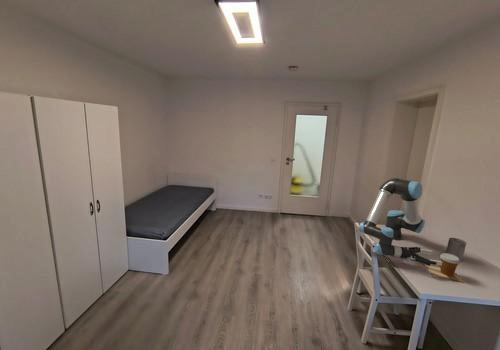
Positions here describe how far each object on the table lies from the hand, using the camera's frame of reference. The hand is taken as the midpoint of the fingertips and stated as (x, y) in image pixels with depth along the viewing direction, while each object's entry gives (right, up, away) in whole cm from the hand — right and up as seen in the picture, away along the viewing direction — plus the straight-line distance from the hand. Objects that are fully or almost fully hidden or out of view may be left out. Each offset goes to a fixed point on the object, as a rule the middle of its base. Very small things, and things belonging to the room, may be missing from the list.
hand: (436, 258), depth 151 cm
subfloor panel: (+4, -9, 0) cm, 10 cm away
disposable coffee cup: (+5, -9, -3) cm, 11 cm away
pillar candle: (+28, -7, +19) cm, 35 cm away
